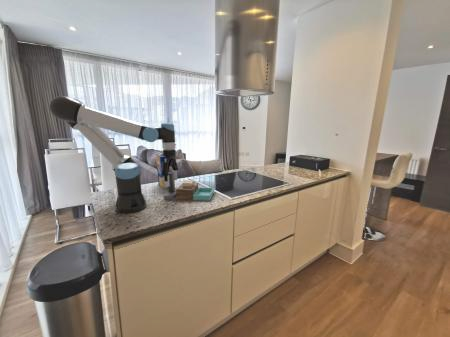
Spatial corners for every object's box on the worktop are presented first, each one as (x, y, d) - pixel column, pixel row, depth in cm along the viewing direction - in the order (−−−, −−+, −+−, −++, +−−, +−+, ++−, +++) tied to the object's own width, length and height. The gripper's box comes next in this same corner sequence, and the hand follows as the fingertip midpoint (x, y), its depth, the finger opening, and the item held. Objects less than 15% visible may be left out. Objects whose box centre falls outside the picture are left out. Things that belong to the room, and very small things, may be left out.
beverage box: (167, 182, 159) (165, 154, 155) (172, 186, 150) (170, 156, 146) (158, 184, 156) (156, 155, 151) (163, 187, 147) (160, 157, 142)
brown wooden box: (192, 199, 124) (192, 189, 123) (176, 199, 125) (176, 189, 124) (198, 192, 137) (198, 183, 136) (183, 191, 138) (183, 182, 137)
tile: (191, 187, 127) (191, 183, 126) (182, 187, 127) (182, 182, 127) (194, 185, 132) (194, 180, 132) (185, 184, 133) (185, 180, 132)
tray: (209, 200, 122) (209, 195, 121) (193, 199, 123) (193, 195, 123) (214, 192, 137) (214, 187, 136) (199, 191, 138) (199, 187, 137)
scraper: (173, 199, 124) (172, 176, 121) (164, 199, 125) (162, 175, 122) (182, 191, 140) (181, 170, 137) (173, 191, 140) (172, 170, 137)
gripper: (167, 152, 114) (169, 189, 118) (181, 147, 138) (183, 178, 142) (154, 151, 114) (157, 188, 119) (170, 146, 139) (172, 177, 143)
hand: (171, 183), depth 131 cm, fingers open, 13 cm apart
